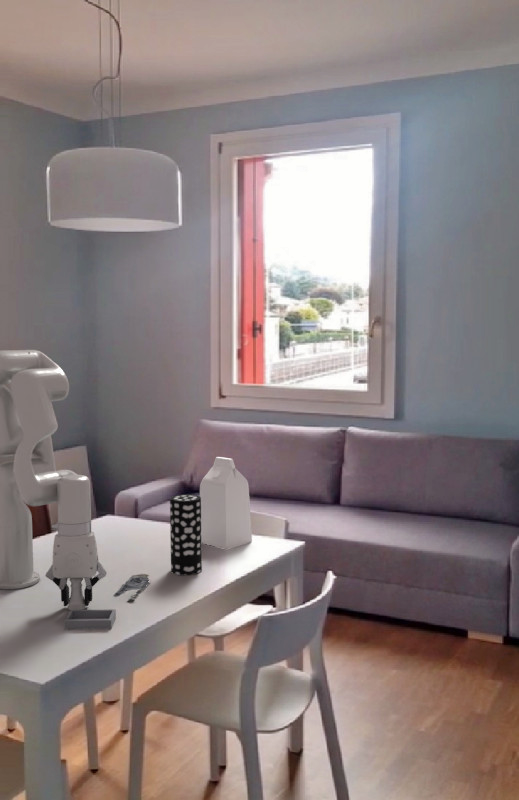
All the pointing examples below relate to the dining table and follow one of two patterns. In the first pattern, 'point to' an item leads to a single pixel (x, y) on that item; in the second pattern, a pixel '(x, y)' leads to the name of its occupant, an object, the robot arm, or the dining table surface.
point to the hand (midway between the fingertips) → (77, 603)
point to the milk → (225, 506)
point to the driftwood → (134, 585)
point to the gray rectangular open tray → (90, 619)
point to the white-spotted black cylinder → (185, 534)
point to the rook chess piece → (76, 595)
